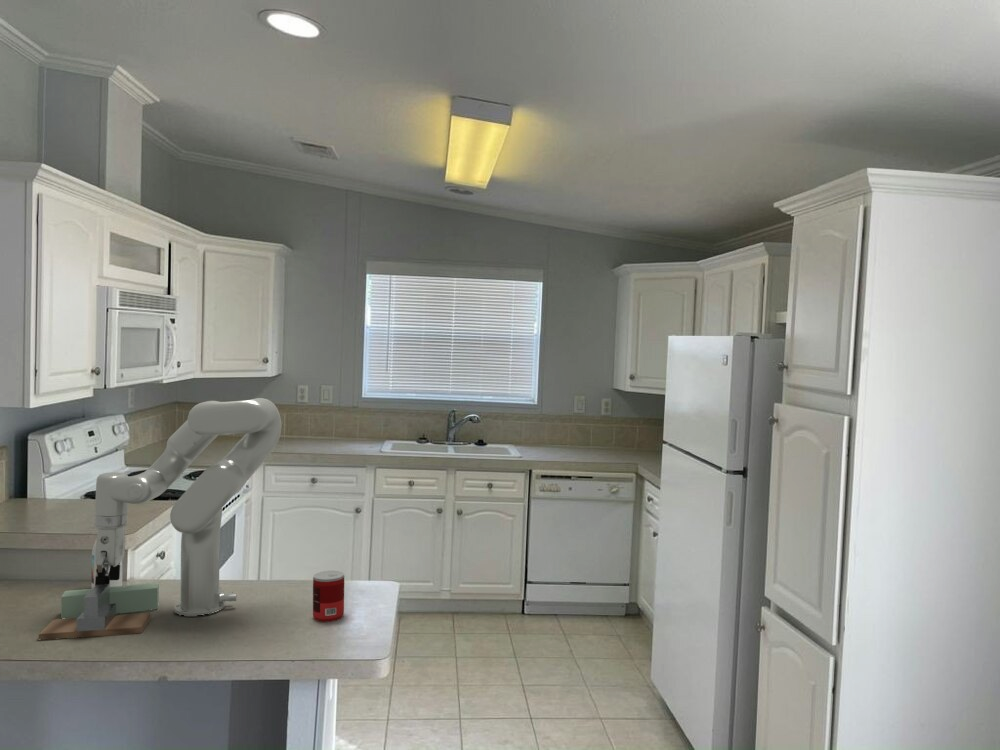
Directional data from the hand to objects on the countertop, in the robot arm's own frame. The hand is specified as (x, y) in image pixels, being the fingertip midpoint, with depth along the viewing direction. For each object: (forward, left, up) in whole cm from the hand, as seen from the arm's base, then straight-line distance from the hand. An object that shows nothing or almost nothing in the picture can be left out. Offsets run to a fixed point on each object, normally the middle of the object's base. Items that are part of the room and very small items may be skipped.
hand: (107, 585), depth 188 cm
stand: (-1, +13, -7) cm, 15 cm away
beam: (-1, 0, -7) cm, 7 cm away
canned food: (-56, +16, -7) cm, 59 cm away
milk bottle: (+5, -19, -7) cm, 21 cm away
